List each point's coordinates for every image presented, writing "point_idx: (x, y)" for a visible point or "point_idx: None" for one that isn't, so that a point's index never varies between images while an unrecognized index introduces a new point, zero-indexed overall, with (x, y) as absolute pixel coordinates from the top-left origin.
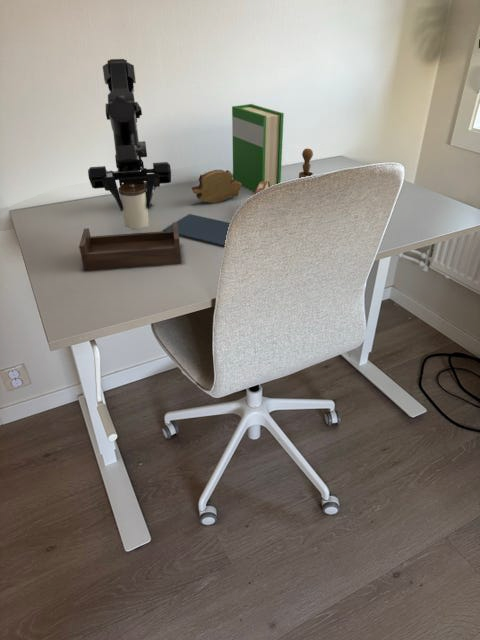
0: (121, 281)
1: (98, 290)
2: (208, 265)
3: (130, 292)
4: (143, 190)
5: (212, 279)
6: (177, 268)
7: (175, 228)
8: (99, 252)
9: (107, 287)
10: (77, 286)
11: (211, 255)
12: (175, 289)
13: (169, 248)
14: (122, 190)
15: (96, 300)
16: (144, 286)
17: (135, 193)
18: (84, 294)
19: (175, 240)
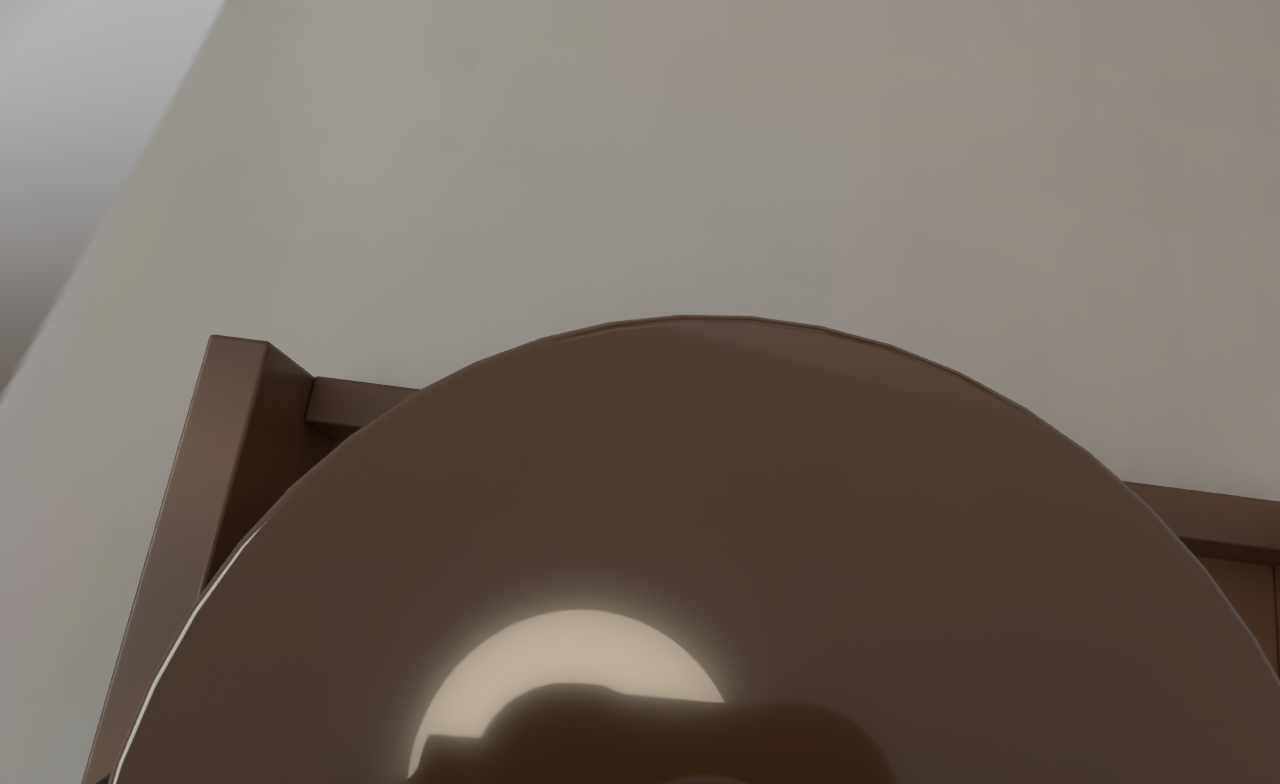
0: (895, 256)
1: (1082, 171)
2: (118, 314)
3: (828, 79)
4: (290, 503)
5: (180, 92)
6: (391, 339)
7: (145, 678)
8: (1172, 513)
9: (1011, 195)
10: (1270, 278)
11: (11, 495)
12: (491, 33)
13: (374, 384)
14: (1164, 690)
15: (1085, 41)
16: (714, 132)
17: (636, 332)
18: (1190, 143)
19: (262, 346)
